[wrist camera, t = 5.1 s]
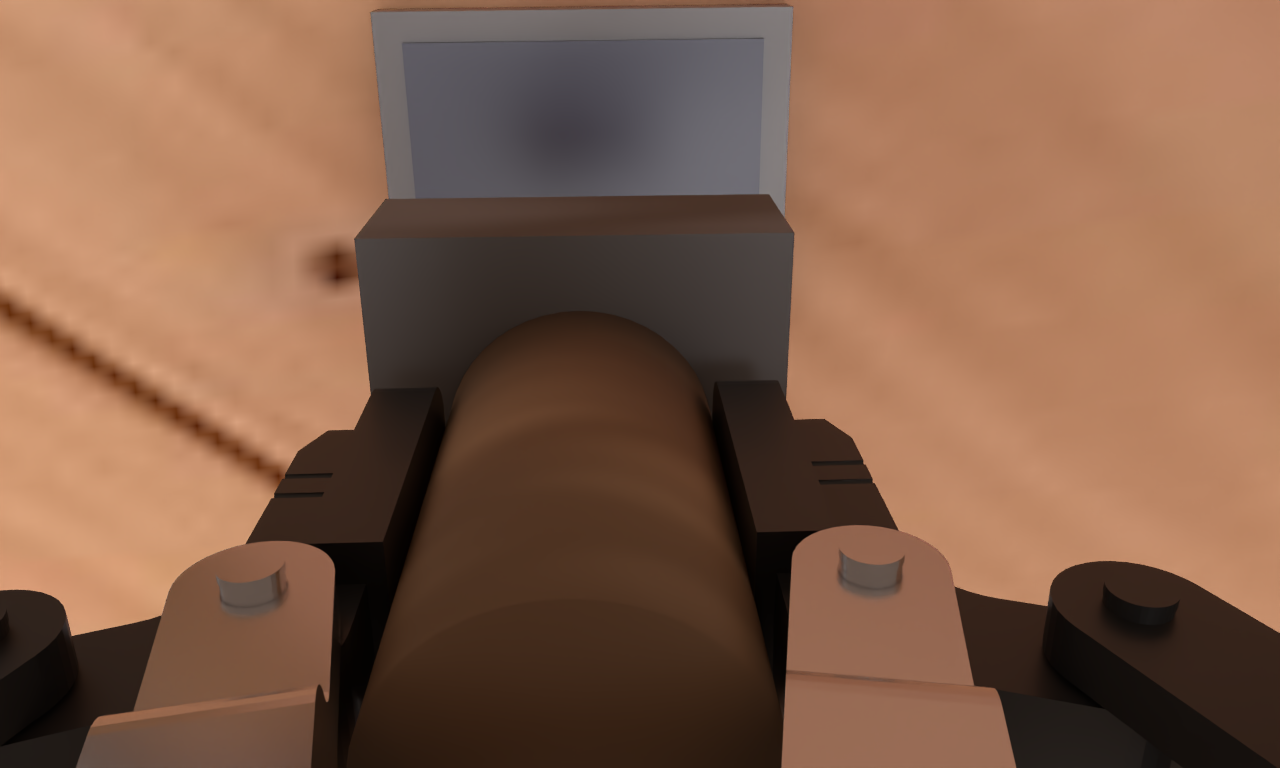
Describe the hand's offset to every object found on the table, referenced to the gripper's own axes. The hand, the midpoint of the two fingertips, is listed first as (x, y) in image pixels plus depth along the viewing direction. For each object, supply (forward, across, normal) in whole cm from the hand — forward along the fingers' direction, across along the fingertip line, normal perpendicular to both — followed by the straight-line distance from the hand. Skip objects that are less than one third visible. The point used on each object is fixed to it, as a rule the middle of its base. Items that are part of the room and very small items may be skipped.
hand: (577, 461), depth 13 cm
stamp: (+3, 0, 0) cm, 3 cm away
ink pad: (+17, 0, 0) cm, 17 cm away
